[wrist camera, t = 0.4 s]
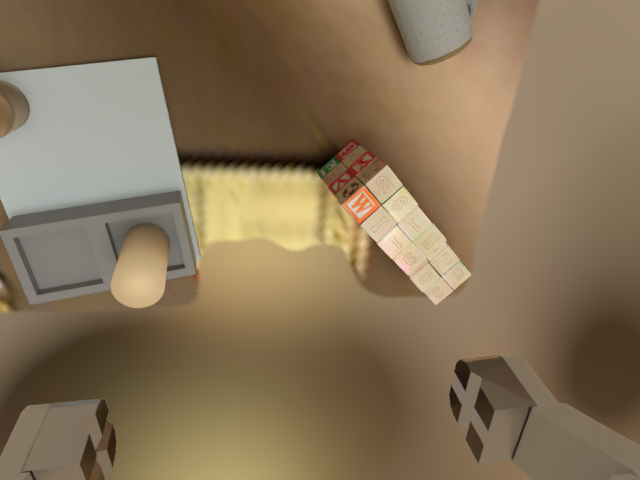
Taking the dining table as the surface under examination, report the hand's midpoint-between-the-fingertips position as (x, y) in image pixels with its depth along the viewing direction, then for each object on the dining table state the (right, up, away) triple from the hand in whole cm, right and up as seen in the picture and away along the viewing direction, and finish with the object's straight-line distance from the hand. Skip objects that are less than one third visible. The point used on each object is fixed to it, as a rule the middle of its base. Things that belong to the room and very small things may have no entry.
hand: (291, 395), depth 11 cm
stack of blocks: (+9, +8, +52) cm, 53 cm away
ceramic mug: (+13, +30, +43) cm, 54 cm away
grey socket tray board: (-25, +10, +41) cm, 49 cm away
